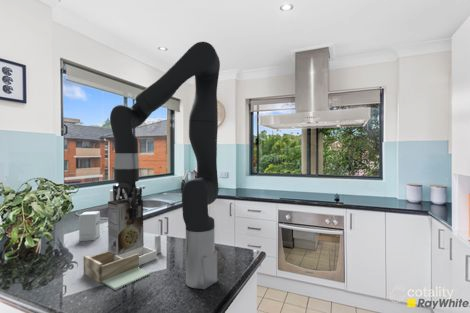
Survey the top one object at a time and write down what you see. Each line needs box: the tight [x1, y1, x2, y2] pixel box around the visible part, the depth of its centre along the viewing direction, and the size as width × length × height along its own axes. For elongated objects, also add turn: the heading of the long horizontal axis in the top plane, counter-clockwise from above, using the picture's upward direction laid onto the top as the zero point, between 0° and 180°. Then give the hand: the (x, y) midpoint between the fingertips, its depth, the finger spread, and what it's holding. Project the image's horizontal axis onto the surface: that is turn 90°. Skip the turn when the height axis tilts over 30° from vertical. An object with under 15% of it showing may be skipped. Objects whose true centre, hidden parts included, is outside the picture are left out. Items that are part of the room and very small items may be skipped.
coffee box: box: [107, 199, 145, 255], centre depth 82 cm, size 9×6×16 cm
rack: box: [83, 250, 140, 284], centre depth 88 cm, size 12×14×6 cm
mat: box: [102, 267, 151, 291], centre depth 82 cm, size 8×12×1 cm, turn 143°
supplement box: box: [78, 210, 101, 242], centre depth 123 cm, size 7×7×13 cm
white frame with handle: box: [114, 234, 162, 266], centre depth 98 cm, size 9×17×7 cm, turn 143°
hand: (126, 217), depth 82 cm, fingers closed on coffee box, 6 cm apart
